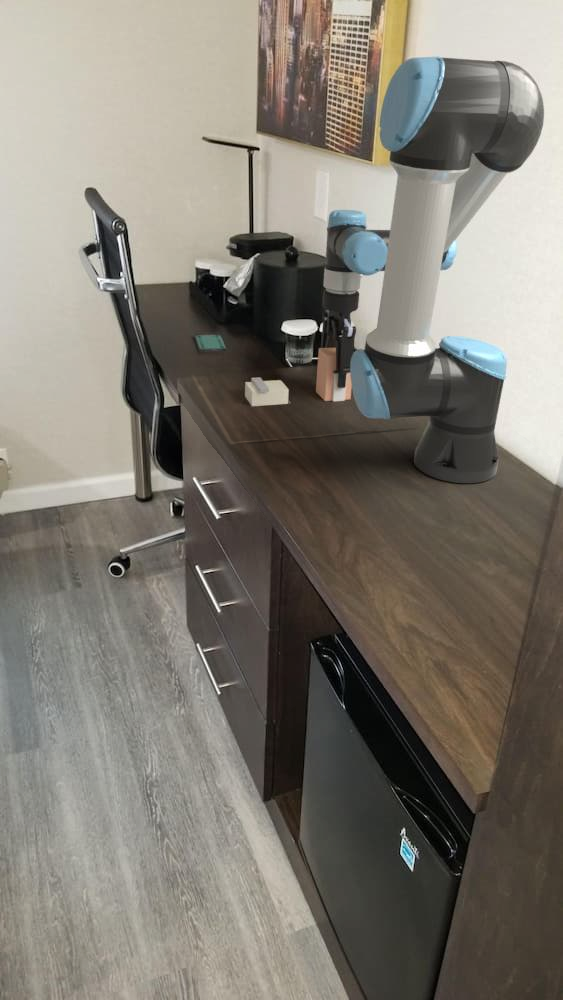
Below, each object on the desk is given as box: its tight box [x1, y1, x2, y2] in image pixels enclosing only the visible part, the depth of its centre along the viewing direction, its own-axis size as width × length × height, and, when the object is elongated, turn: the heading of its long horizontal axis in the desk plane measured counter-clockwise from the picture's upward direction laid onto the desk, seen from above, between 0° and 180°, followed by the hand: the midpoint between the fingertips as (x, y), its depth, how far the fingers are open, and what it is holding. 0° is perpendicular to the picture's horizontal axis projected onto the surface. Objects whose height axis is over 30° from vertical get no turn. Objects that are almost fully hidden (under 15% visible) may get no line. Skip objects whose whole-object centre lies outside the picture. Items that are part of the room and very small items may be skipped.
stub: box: [315, 347, 352, 402], centre depth 165 cm, size 6×6×10 cm
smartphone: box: [193, 333, 228, 355], centre depth 200 cm, size 7×1×15 cm
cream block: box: [244, 377, 292, 407], centre depth 163 cm, size 7×9×5 cm
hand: (333, 394), depth 168 cm, fingers closed on stub, 6 cm apart
